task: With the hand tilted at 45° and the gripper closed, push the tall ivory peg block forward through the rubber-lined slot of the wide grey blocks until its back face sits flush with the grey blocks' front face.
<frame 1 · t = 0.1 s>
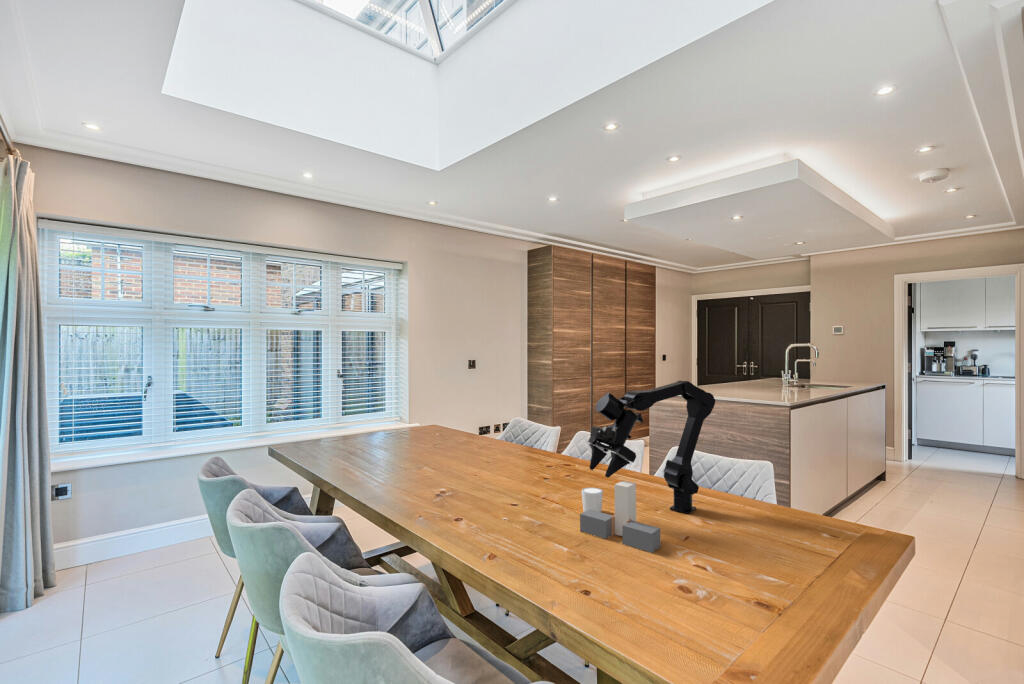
hand: (598, 473, 145), 15 cm above the table, tool tilted 35°, fingers open, 9 cm apart
shot glass: (592, 512, 154), on the table
peg block: (625, 508, 135), point 7 cm above the table, slide at 4.0 cm
grey blocks: (618, 538, 132), on the table
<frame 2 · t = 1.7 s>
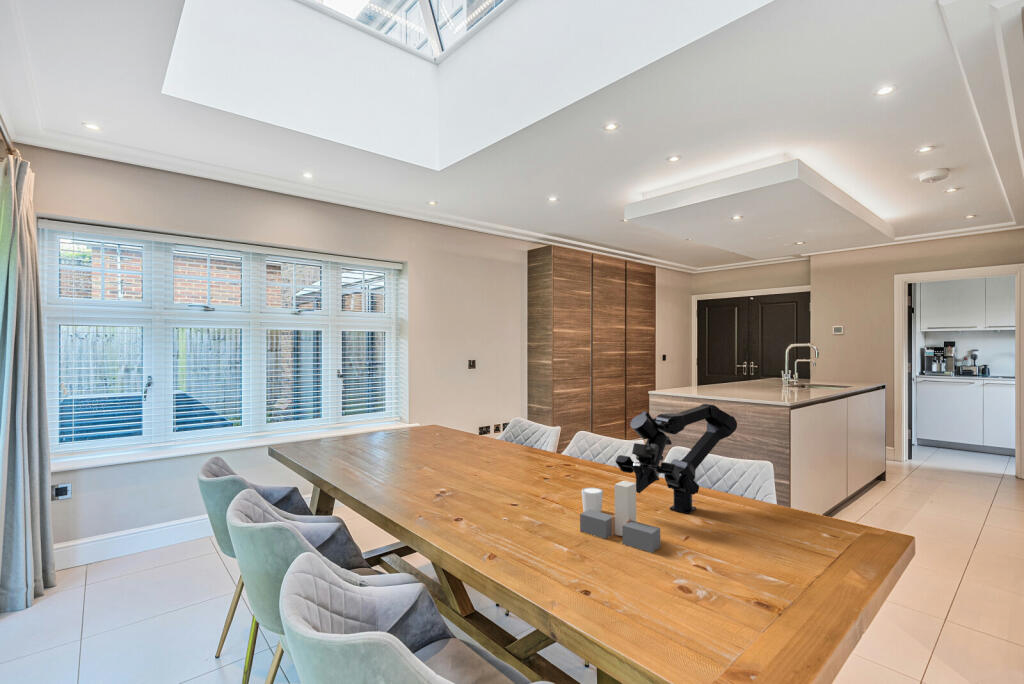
hand: (637, 492, 141), 10 cm above the table, tool tilted 45°, fingers closed
nothing on the table moved.
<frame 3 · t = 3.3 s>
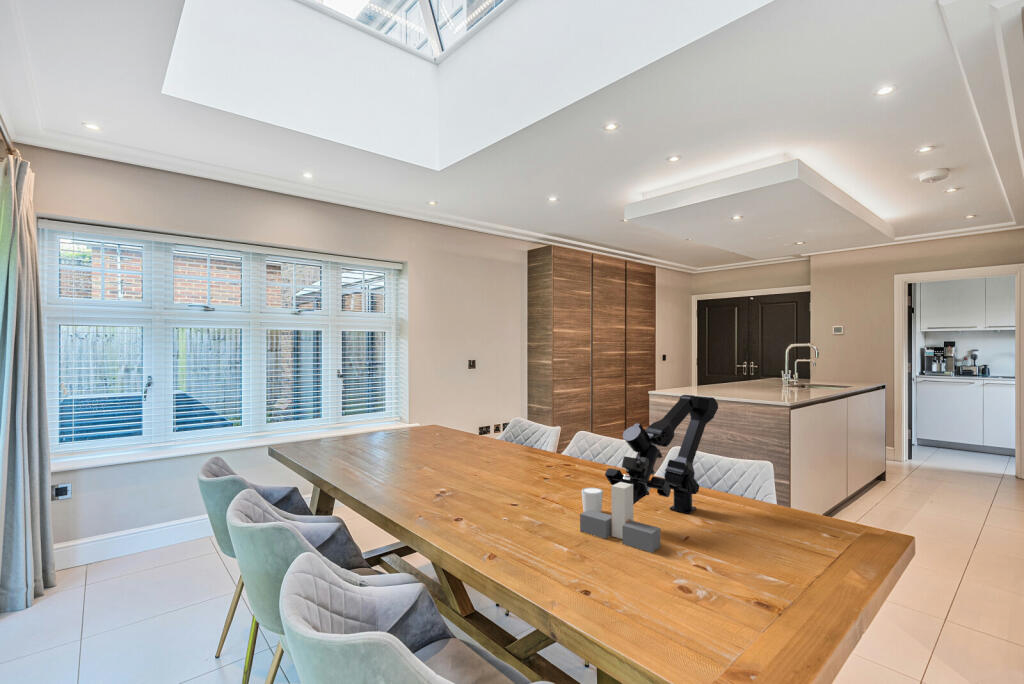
hand: (627, 507, 136), 7 cm above the table, tool tilted 45°, fingers closed, pressing on peg block
peg block: (622, 510, 134), point 7 cm above the table, slide at 2.3 cm, touching gripper
everything else where it was.
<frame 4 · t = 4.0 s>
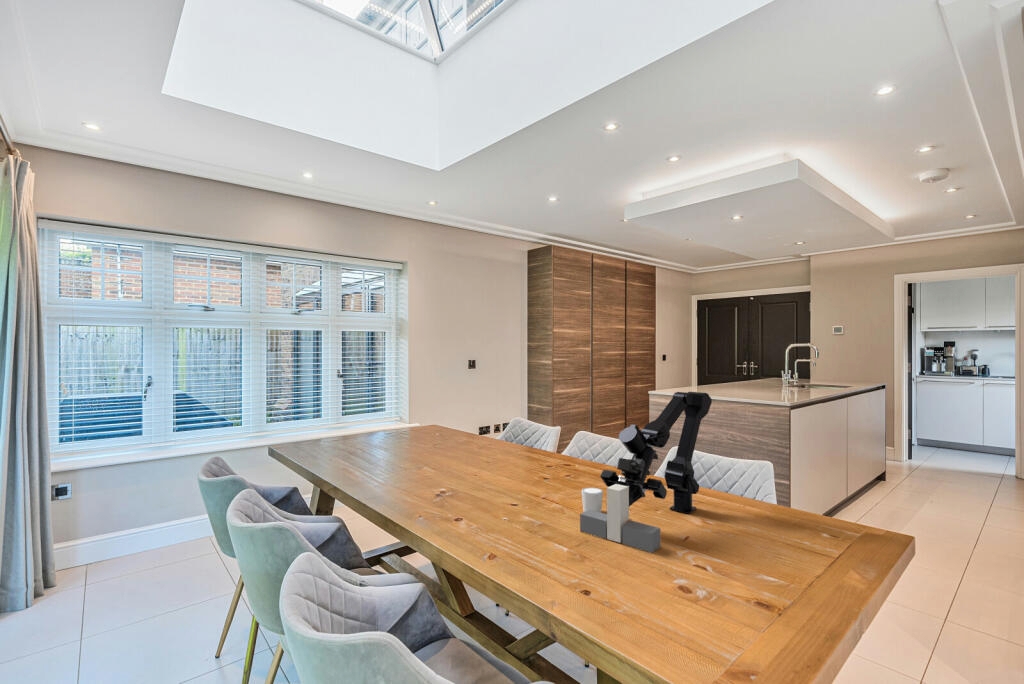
hand: (622, 509, 134), 7 cm above the table, tool tilted 45°, fingers closed, pressing on peg block
peg block: (617, 512, 132), point 7 cm above the table, slide at -0.2 cm, touching gripper
everything else where it was.
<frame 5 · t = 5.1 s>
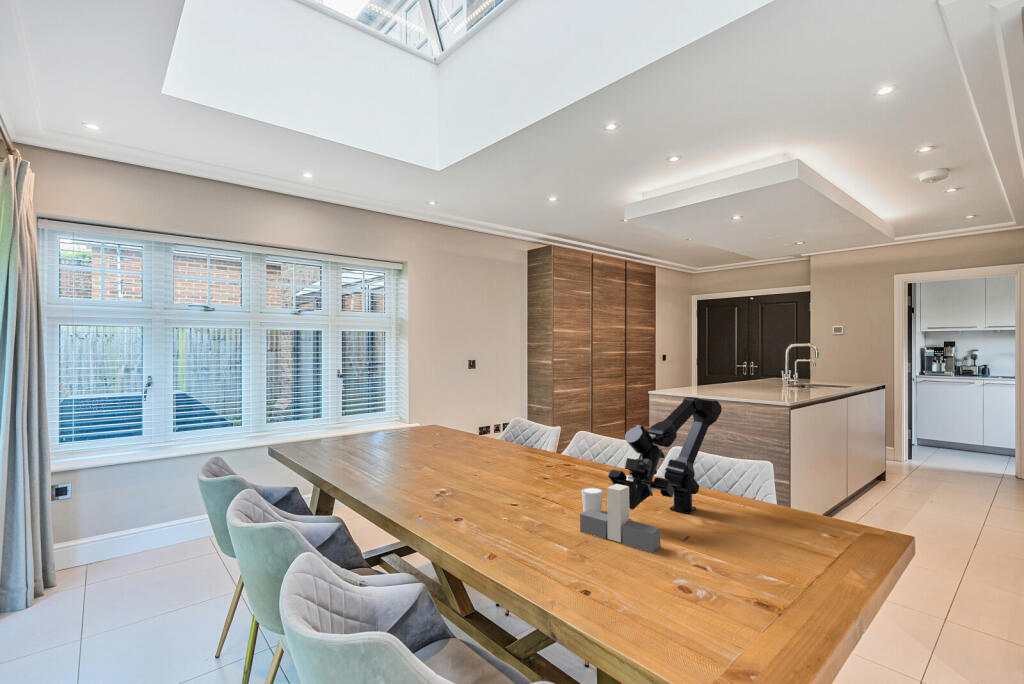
hand: (631, 508, 137), 7 cm above the table, tool tilted 45°, fingers closed
peg block: (618, 512, 132), point 7 cm above the table, slide at 0.0 cm
everything else where it was.
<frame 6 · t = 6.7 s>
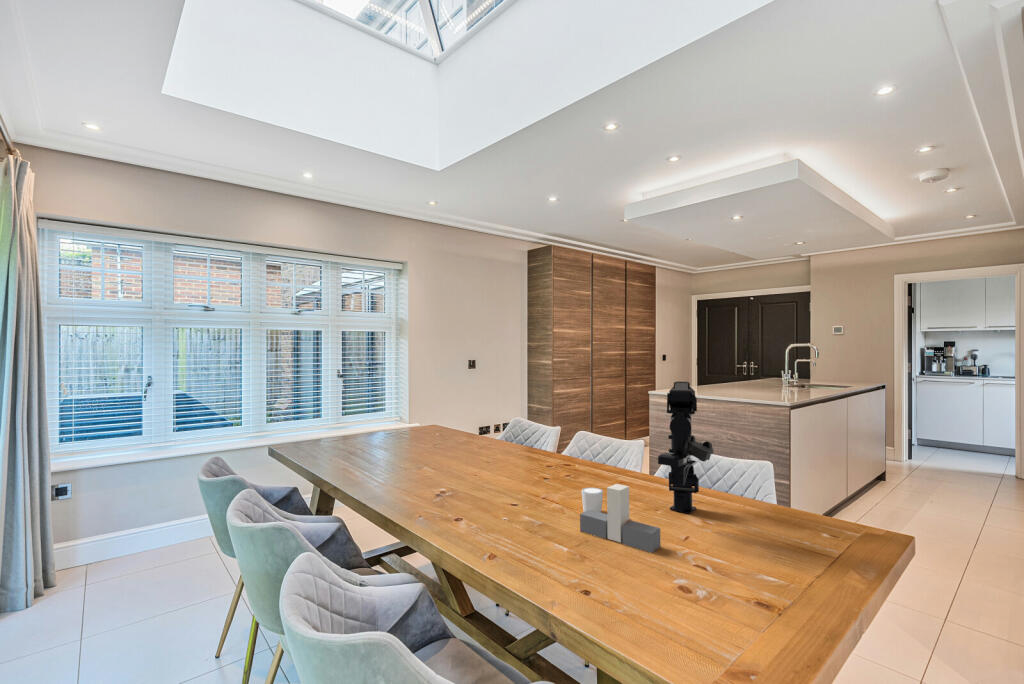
hand: (682, 485, 141), 12 cm above the table, tool pointing down, fingers closed
nothing on the table moved.
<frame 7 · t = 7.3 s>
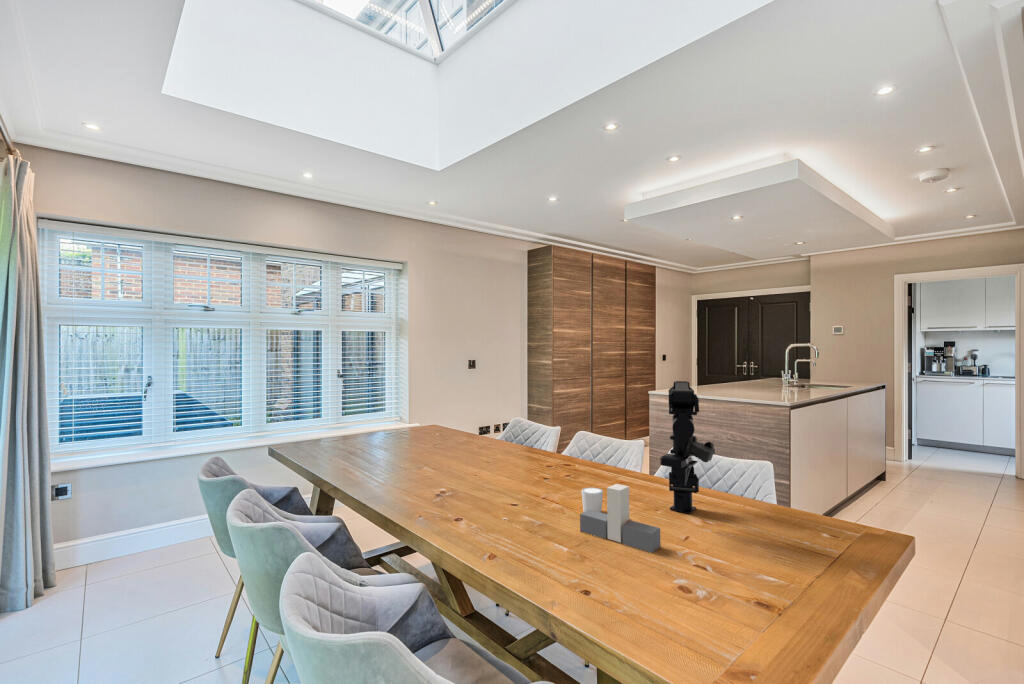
hand: (683, 485, 141), 12 cm above the table, tool pointing down, fingers closed
nothing on the table moved.
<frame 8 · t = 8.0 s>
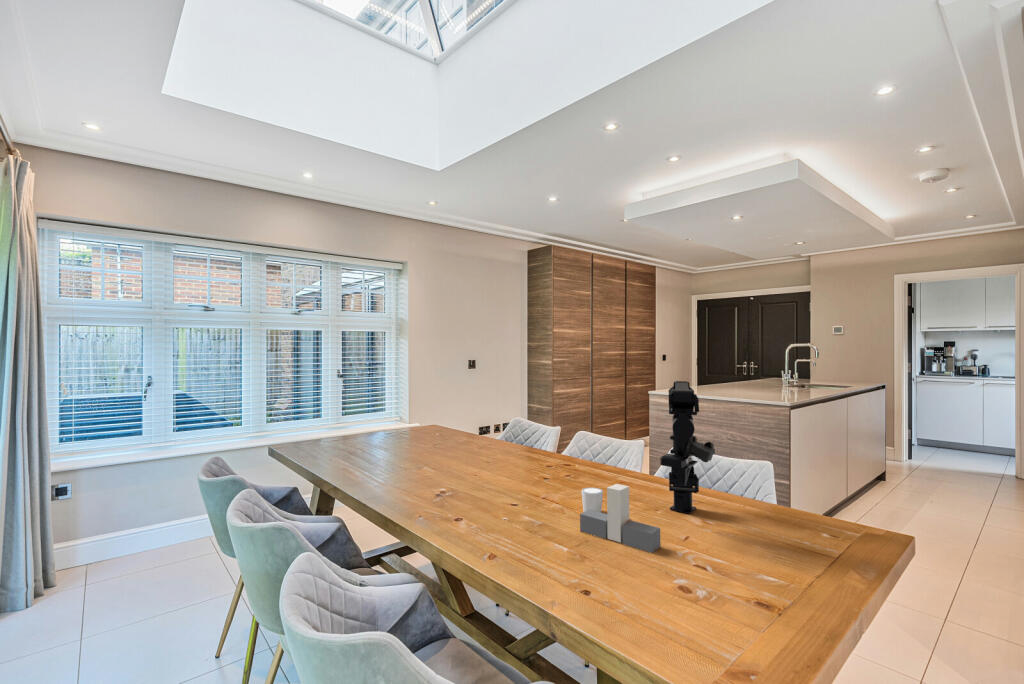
hand: (683, 485, 141), 12 cm above the table, tool pointing down, fingers closed
nothing on the table moved.
at the end: peg block slide at 0.0 cm; shot glass moved 0.2 cm from its start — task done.
